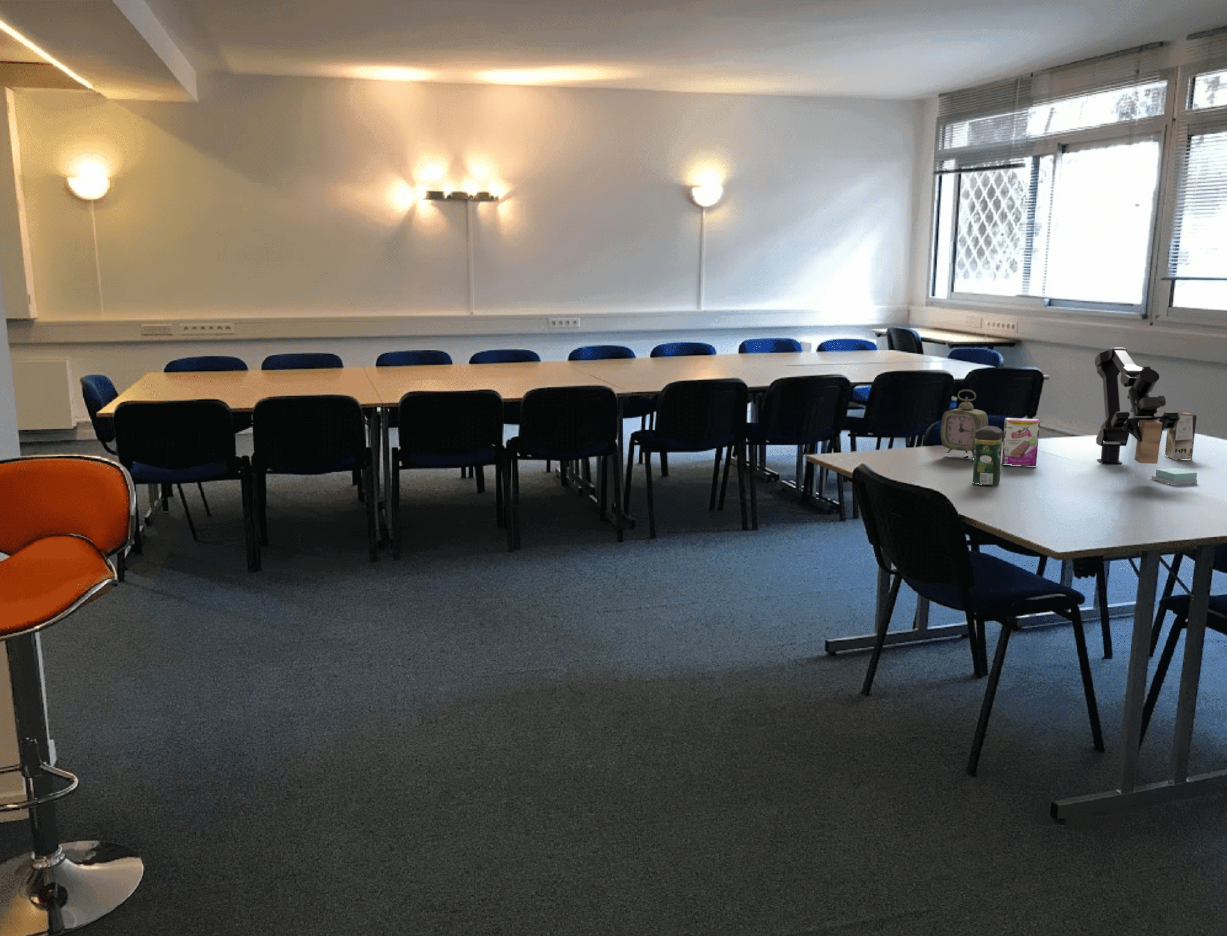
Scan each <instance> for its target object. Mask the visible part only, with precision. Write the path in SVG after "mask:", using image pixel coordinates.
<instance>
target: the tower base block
mask: <svg viewBox="0 0 1227 936" xmlns="http://www.w3.org/2000/svg"><path fill="white" fill-rule="evenodd" d="M1151 478H1152V479H1154V480H1153V481H1155V480H1158V481H1162V482H1164V483H1163V484H1165V483H1169V484H1186V485H1191V484H1190V483H1197V484H1198V479H1197V478H1196V480H1182V481H1172V480H1169V479H1165V478H1161V477H1157V476H1156V474H1155V475H1153V474H1152V475H1151ZM1152 479H1151V480H1152ZM1158 481H1157V482H1158ZM1162 482H1161V483H1162Z"/></svg>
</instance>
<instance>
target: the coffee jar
mask: <svg viewBox="0 0 1227 936" xmlns="http://www.w3.org/2000/svg"><path fill="white" fill-rule="evenodd" d="M1003 434H1004V431H1003V430H1002V429H1001V428H1000V427H999V426H996V425H995V426H994V425H988V426H984V427H982V428H980V429H978V430H976V432H975V450H974V461H973V468H972V469H973V471H972V472H973V473H972V483H973V482H974V483H979V484H982V485H995V486H997V485H998V484H1000V481H1001V465H1002V448H1003ZM974 483H973V484H974Z"/></svg>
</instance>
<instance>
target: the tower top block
mask: <svg viewBox="0 0 1227 936" xmlns="http://www.w3.org/2000/svg"><path fill="white" fill-rule="evenodd" d="M1155 475H1156V476H1157V477H1161V478H1165V479H1169V480H1172V481H1182V480H1196V479H1197V477H1198V472H1195V471H1191V470H1187V469H1184V468H1179V467H1171V468H1170V467H1169V468H1158V469H1156V470H1155Z"/></svg>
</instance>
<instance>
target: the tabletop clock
mask: <svg viewBox="0 0 1227 936" xmlns="http://www.w3.org/2000/svg"><path fill="white" fill-rule="evenodd" d="M963 392H970V393H972V394H973V395H974V398H971V399H969V397H967V396H965V398H961V396H960V393H963ZM957 398H958V399H959V400H960V401H962V402H961V403H959V405H958V408H954V409H948V410H946V411H944V412H943V414H942V416H941V423H940V440H941V445H942V447H945V448H947V449H948V451H947V452H945V453H950V452H951V451H953V450H955V451H963V452H965V453H968V452H971V454H972V457H971V459H972V458H974V450H975V432H976V430H978V429H980V428H982V427H984V426H989V419H988V418H989V417H988V414H987V412H985V411H984V410H980V409H974V408H975V407H974V405H973V404H972V402H973V401H975V400H976V398H977V395H976V392H975V391H973V390H972V389H966V388H965V389H961V390H959V391H958V393H957Z"/></svg>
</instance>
